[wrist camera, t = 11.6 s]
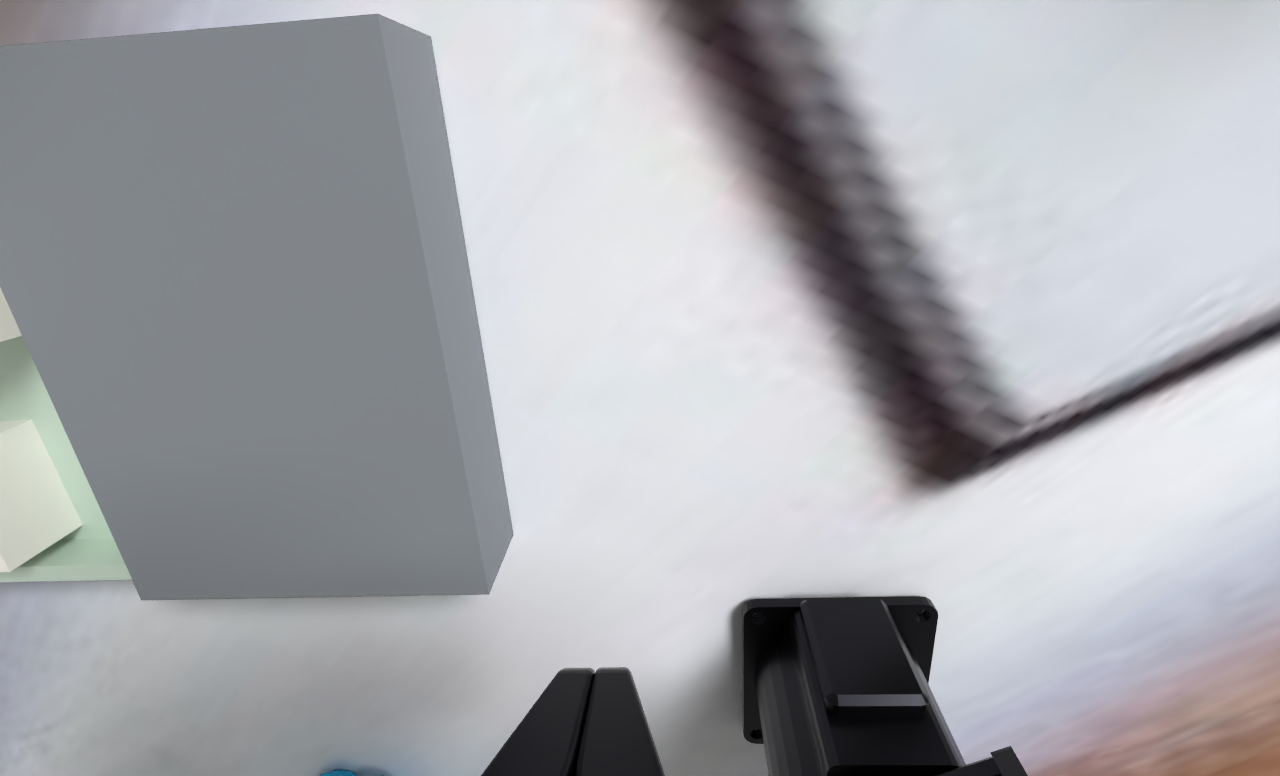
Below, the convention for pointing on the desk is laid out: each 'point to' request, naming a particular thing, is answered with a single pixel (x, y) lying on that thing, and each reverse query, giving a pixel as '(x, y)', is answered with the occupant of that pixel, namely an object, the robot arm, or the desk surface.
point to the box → (14, 390)
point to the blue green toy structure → (339, 773)
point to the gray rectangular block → (256, 306)
